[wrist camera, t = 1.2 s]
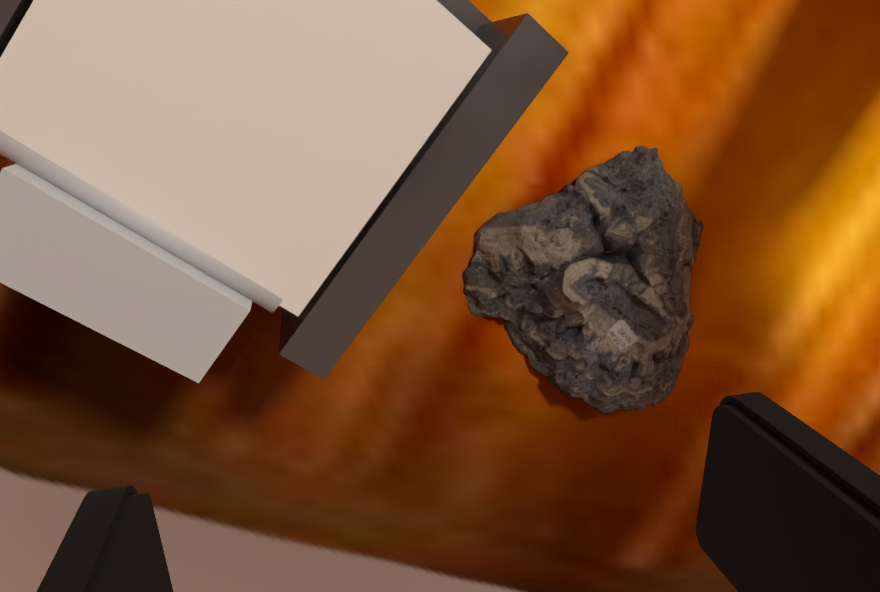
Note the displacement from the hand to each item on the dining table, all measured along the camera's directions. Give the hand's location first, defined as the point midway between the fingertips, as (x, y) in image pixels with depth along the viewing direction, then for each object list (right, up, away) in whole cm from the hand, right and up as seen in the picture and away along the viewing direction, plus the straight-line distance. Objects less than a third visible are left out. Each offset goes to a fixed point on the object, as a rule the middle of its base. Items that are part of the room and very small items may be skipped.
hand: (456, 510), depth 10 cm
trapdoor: (-10, +11, +16) cm, 21 cm away
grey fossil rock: (+11, +4, +30) cm, 32 cm away
